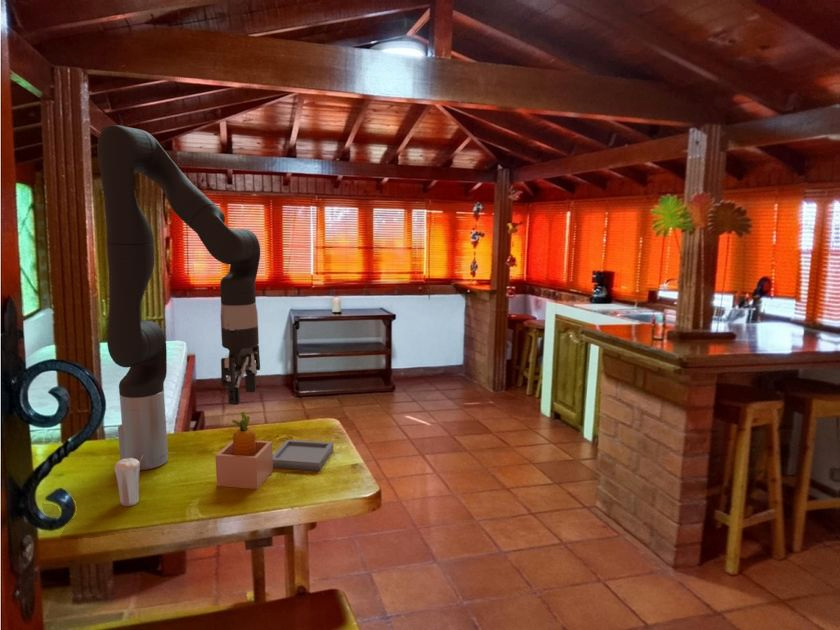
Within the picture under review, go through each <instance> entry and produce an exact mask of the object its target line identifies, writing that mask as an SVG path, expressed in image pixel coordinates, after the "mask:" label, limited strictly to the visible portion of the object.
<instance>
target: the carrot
mask: <svg viewBox="0 0 840 630" xmlns="http://www.w3.org/2000/svg"><path fill="white" fill-rule="evenodd" d="M240 416H241V419H240V420H237V419H232V420H231V422H232V423H234V424H236V425H237V426H238V428H237V429H235V430H234V432H233V435H232V440H233V447H234V455H242V456H255V442H256V441H257V440H256V430H255V429H254V428H250V427H248V426H249V423H250V419H251V417H250V415H248V414H247V413H246V411H241V412H240Z"/></svg>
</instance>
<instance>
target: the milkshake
mask: <svg viewBox="0 0 840 630" xmlns="http://www.w3.org/2000/svg"><path fill="white" fill-rule="evenodd" d="M142 457H143V456H142ZM142 457H141V459H142ZM140 462H141V460H140ZM140 462H139V461H138V460H137V459H134V458H127V459H121V460H120V459H119V460H118V461H117V462H116V464H115V465H114V471H115V476H116V482H117V487H118V494H119V499H120V501H119V502H120V505H121V506H123V507H132V506H134V505H136V504H137V503H139V497H140V471H141V470H140Z"/></svg>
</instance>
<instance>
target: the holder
mask: <svg viewBox="0 0 840 630" xmlns="http://www.w3.org/2000/svg"><path fill="white" fill-rule="evenodd" d="M273 449H274V448H273V441H267V440H256V442H255V456H242V455H234V447H233V439H232V440H231V441H230V442H229V443H228V444H226V446H224V447H223V448H222V449H221V450H220V451H218V453H216V454H215V470H216V471H215V473H216V486H217V487H228V488H241V489H253V490H258V489H259V488H260V487H261V485H262V484H263V483H264V482H266V480H267V478H268V477H269V476H270V475H271V474H272V473H273V472H274V468H273V454H274V452H273Z"/></svg>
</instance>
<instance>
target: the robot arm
mask: <svg viewBox="0 0 840 630" xmlns="http://www.w3.org/2000/svg"><path fill="white" fill-rule="evenodd" d="M96 150H97V152H96V153H97V159H98V166H99V167H98V168H99V173H100V179H101V185H102V192H103V199H104V200H103V201H104V213H105V214H104V215H105V225H106V254H107V255H106V256H107V267H108V295H109V297H108V298H109V299H108V301H109V302H108V318H107V331H106V332H107V334H106V335H107V336H106V338H107V339H106V340H107V341H106V342H107V350H108V354H109V356H110V358H111V359H112V361H113V362H114V363H115V364H116V365H117V366H119V367H122V368H129V369H128V371H127V372H126V374H125V375H124V376H123V378H122V379H121V380H120V381H119V383H118V392H119V404H120V416H121V417H120V418H121V424H120V425H118V427H117V433H118V448H119V461H120V460H121V459H127V458H134V459H137V460H138V461H139V462H140V460H141V462H140V471H145V470H151V469H155V468H158V467H160V466H163V465H164V464H166V463H167V462H168V460H169V451H168V436H167V434H168V433H167V420H166V417H167V415H166V403H165V402H166V401H165V400H166V399H165V385H164V383H165V380H166V377H167V374H168V373H167V371H168V367H167V365H168V364H167V362H168V361H167V355H168V354H167V351H168V350H167V339H166V336H165V333H164V331H163V329H162V327H161V326H160V325H159V324H158V323H156V322H155V321H152V320H141V308H142V307H141V305H142V300H143V297H144V295H145V292H146V290H147V287H148V285H149V282H150V280H151V277H152V275H153V272H154V268H155V239H154V233H153V231H152V228H151V225H150V223H149V221H148V219H147V217H146V216H145V214H144V213H143V210H142V208H141V207H140V204H139V202H138V199H137V196H136V191H135V190H136V189H135V180H134V178H135V177H134V174H142V175H143V176H146V177H147V178H148V179H150V180H152V181H153V182H154V183H155V184H156V185H158V186H159V188H160V189H161V190H162V191H163V193H164V196H165V197H166V199H167V202H168V204H169V206H170V208H171V209H172V211H173V212H174V214H176V216H178V218H179V219H180V220H181V221H183V223H185V224H186V225H187V226H188V227H189V228H191V230H192V231H193V232H194V233H196V234H197V236H198V238H199V239H200V241H201V242H202V244H203V246H204V247H205V248H206V250H207V251H208V253H209V254H210V255H211V256H212V257H213V258H214V259H216V260H217V261H218V262H219V263H222V264H225V265H229V271H228V273H227V274H226V275H224V276H223V277H222V278H221V279H220V284H219V285H220V287H219V289H220V333H221V334H220V335H221V346H222V347H223V349H227V350H228V351H229V352H228V357H222V358H221V359H220V368H221V369H220V374H221V376H220V377H221V380H220V381H221V388H227V396H228V404H229V405H230V406H231V405H232V406H235V405H236V406H237V405H239V404H240V403H241V396H240V395H241V393H240V392H241V391H240V383H241V380H242V378H244V384H245V391H246V393H255V392H256V391H257V378H256V377H257V375H258V371H260V370H261V360H260V345H259V340H260V339H259V337H260V336H259V317H258V309H257V303H256V302H257V300H256V297H257V296H256V279H257V275H258V270H259V265H260V258H261V245H260V241H259V239H258V236H257V235H256V234H255V233H254V232H253V231H251V230H250V229H246V228H237V229H236V228H235V229H232V228H230V227H229V226H228V225H226V224H225V221H226V216H225V214H224V212H223V210H221V208H219V206H218V205H216V204H215V203H214V202H213V201H212V200H211V199H210V198H209V197H207V196H206V194H204V193H203V192H202V191H201V189H199V188H198V187H197V186H196V185H194V183H193V182H192V181H190V179H189V178H188V177H187V176H186V175H185V174H184V173H183V171H182V170H181V169H180V168H179V166H178V165H177V164H176V163H175V162H174V161H173V160H172V158H171V157H170V156H169V154H168V153H167V152H166V150H165V149H164V147H162V145H161V144H160V142H159V141H158V140H157V139H156V138H155V137H154V136H153V135H152V134H150V132H148V131H145V130H142V129H139V128H133V127H130V126H129V127H128V126H123V125H118V124H110V125H108V126H105V127H104V128H103V129H102V130H101V132H100V133H99V136H98V139H97V149H96ZM142 456H143V457H142ZM141 457H142V459H141Z"/></svg>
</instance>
